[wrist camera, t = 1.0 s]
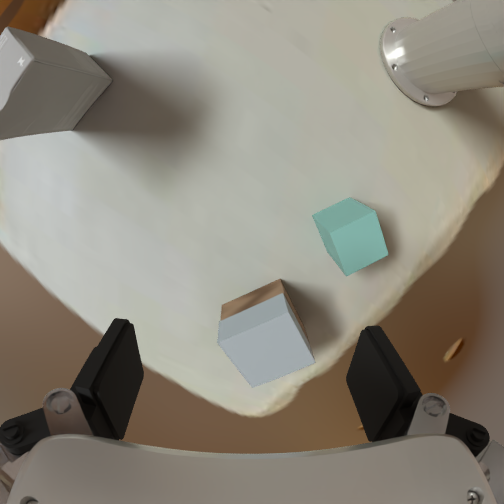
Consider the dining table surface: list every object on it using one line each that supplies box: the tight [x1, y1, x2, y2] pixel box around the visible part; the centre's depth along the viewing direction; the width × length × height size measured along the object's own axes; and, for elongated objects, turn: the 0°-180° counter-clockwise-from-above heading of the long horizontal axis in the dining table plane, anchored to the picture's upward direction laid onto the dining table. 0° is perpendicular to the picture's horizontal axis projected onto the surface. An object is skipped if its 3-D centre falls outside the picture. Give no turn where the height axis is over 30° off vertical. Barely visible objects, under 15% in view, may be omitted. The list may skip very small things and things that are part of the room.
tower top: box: [217, 293, 315, 388], centre depth 32 cm, size 8×8×4 cm
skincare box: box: [0, 27, 113, 140], centre depth 19 cm, size 8×7×16 cm
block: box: [312, 197, 388, 276], centre depth 30 cm, size 5×5×7 cm
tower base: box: [221, 279, 309, 342], centre depth 35 cm, size 8×8×4 cm
